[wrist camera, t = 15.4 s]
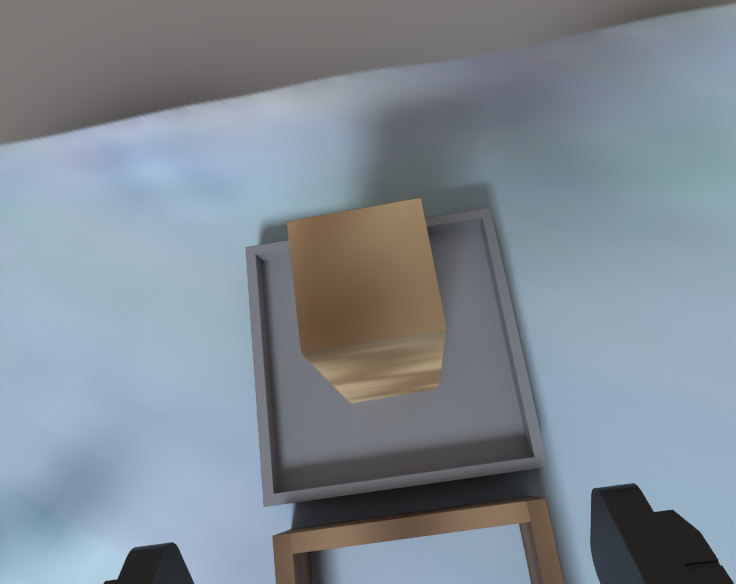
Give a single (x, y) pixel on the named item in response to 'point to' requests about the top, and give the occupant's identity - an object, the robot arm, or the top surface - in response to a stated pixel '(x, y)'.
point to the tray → (404, 412)
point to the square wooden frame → (524, 510)
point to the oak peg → (369, 300)
